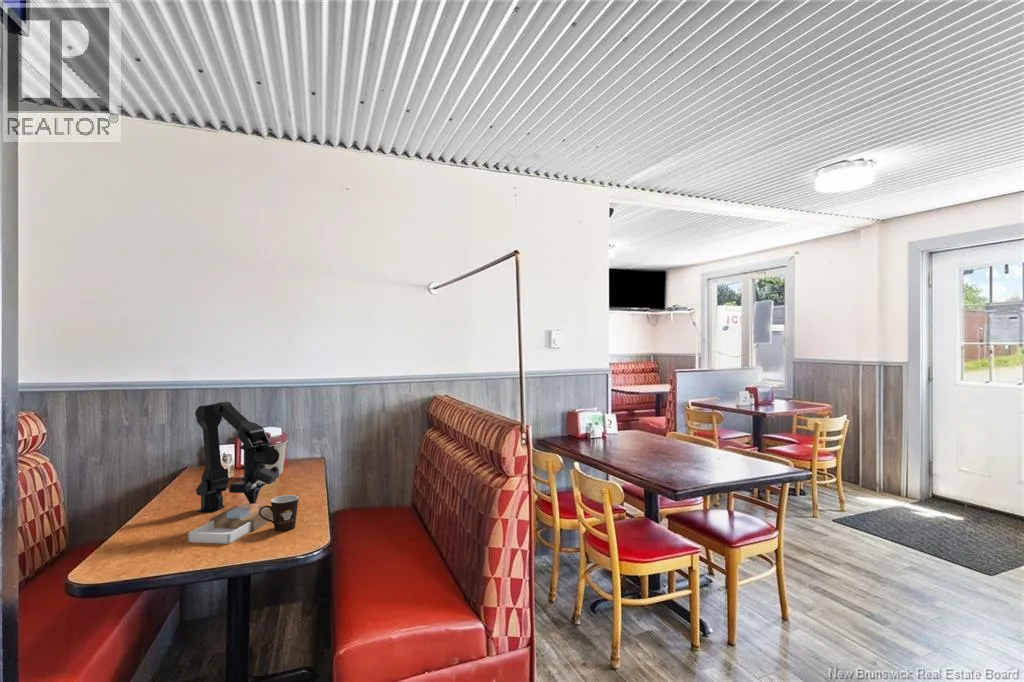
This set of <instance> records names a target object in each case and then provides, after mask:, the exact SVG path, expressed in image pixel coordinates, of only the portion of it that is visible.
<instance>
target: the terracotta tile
mask: <svg viewBox="0 0 1024 682" xmlns="http://www.w3.org/2000/svg"><path fill="white" fill-rule="evenodd" d="M238 506H239V507H237V508H250V513H252V512H254V511H256V510H258V506H259V503H255V504H252V503H249V502H248V503H247V502H246V503H245V502H244V503H243V504H241V505H238Z"/></svg>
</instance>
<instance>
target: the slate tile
mask: <svg viewBox="0 0 1024 682" xmlns="http://www.w3.org/2000/svg"><path fill="white" fill-rule="evenodd" d="M249 514H250V508H235V509H233V510H231V511H229V512H227V519H241V518H243V517H245V516H247V515H249Z"/></svg>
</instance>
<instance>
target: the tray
mask: <svg viewBox="0 0 1024 682" xmlns="http://www.w3.org/2000/svg"><path fill="white" fill-rule="evenodd" d="M250 532H251V522H248V523H246V524H245V525H243V526H241V527H239V528H238V529H222V528H214V520H212V521H210V520H209V521H208V522H206V523H205V524H202V525H200V526H198V527H196V528H195V529H192V530H190V531H188V532H187V541H188V543H202V544H225V545H230V544H232V543H234V542H235V541H237V540H239V539H240V538H242V537H244V536H245V535H246V534H248V533H250Z"/></svg>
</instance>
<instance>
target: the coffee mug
mask: <svg viewBox="0 0 1024 682" xmlns="http://www.w3.org/2000/svg"><path fill="white" fill-rule="evenodd" d="M270 504H271V506H270V505H264V506H263V505H262V506H263V507H261V508H260V510H259V515H260V516H261V517H262V518H263V519H265V520H267V521H270V522H269V523H272V524H273V527H274V528H273V529H274V531H275V532H278V533H279V532H280V533H281V532H282V533H284V532H289V531H292V530H294V529H295V528H296V523H297V522H296V521H297V515H298V514H297V513H298V506H299V496H298V495H294V494H288V495H287V494H286V495H285V494H284V495H279V496H275V497H273V498H272V499H270ZM265 507H268V508H270V510H271V511H272V513H273V520H270V519H267V518H265V517H263V516H262V515H261V510H262V509H263V508H265Z"/></svg>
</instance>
